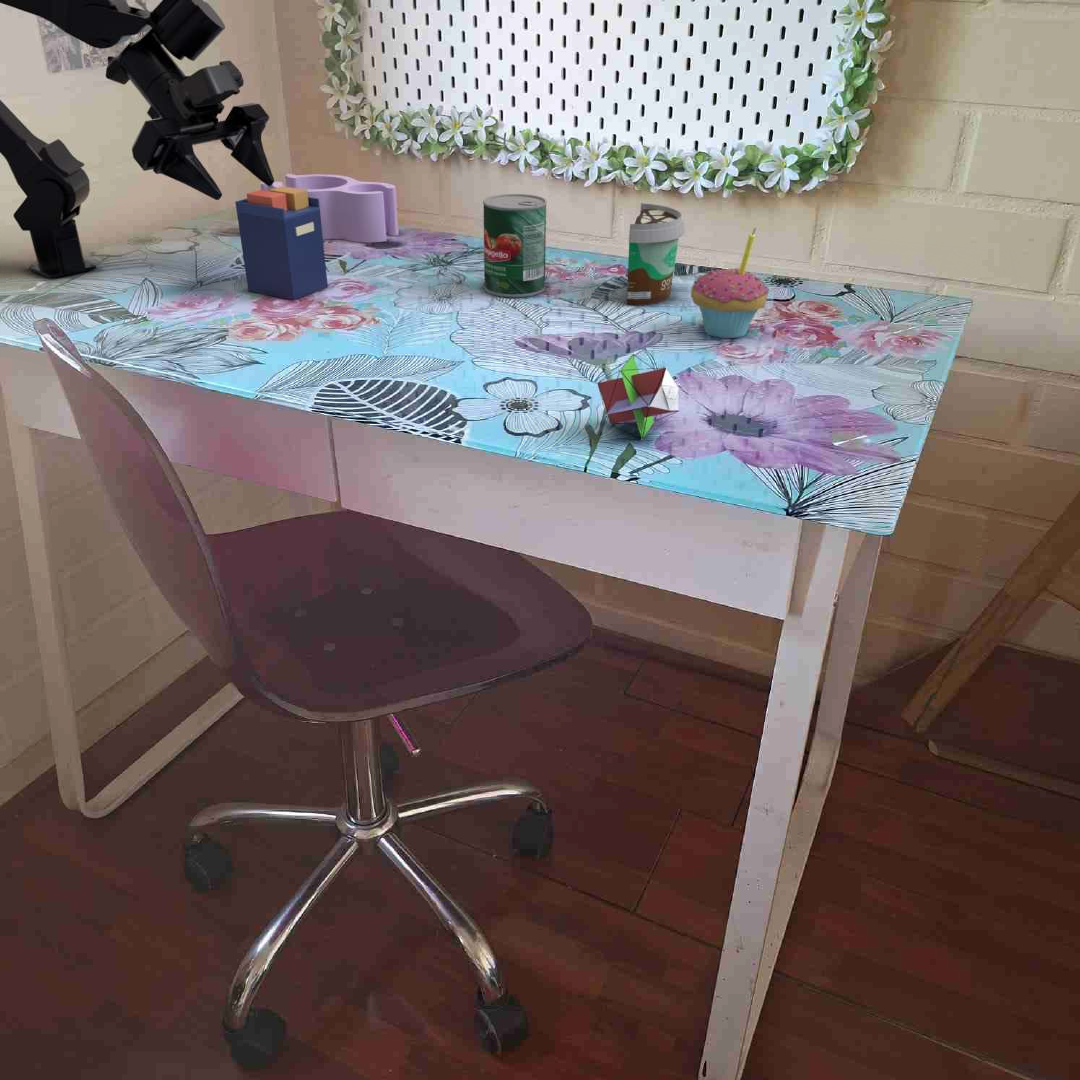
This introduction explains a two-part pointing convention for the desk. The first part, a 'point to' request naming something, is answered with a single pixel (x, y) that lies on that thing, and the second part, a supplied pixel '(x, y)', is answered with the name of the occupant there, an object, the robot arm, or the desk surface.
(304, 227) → the blue storage box
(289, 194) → the snack bar tan
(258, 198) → the block
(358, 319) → the desk surface
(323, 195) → the clip
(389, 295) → the desk surface
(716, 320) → the cupcake
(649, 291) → the food container
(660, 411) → the geometric puzzle
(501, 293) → the canned tomato
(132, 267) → the desk surface
